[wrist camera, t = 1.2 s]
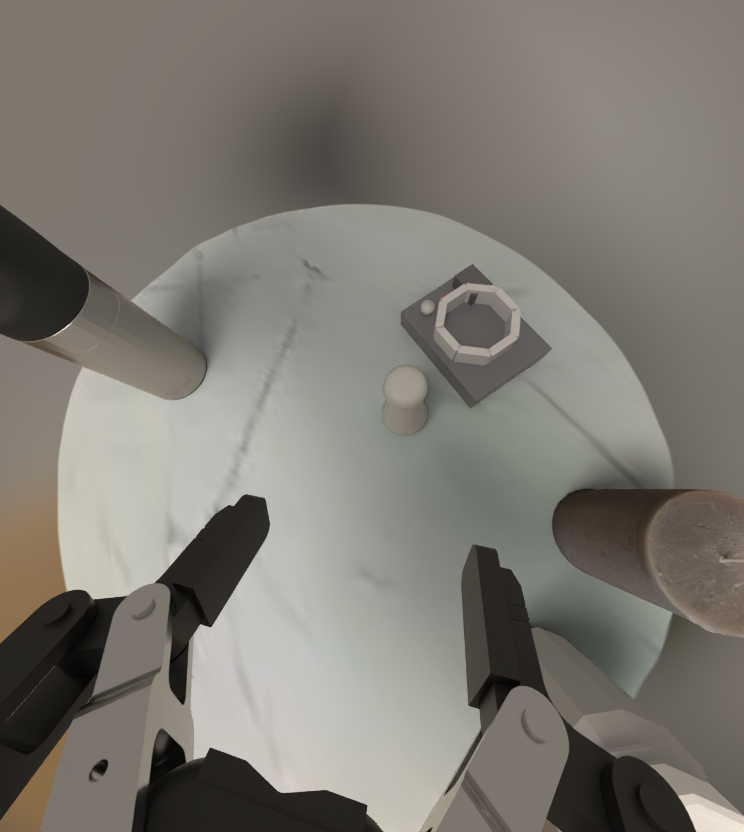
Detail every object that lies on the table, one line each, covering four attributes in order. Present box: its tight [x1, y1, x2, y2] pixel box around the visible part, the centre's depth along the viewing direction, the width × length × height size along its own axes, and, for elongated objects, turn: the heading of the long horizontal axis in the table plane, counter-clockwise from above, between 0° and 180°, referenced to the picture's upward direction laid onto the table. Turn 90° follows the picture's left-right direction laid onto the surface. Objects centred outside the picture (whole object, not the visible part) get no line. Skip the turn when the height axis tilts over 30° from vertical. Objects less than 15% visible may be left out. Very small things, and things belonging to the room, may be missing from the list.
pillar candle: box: [552, 489, 744, 638], centre depth 26 cm, size 10×10×15 cm
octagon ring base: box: [401, 264, 552, 408], centre depth 38 cm, size 16×12×6 cm
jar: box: [531, 627, 744, 832], centre depth 22 cm, size 10×10×18 cm
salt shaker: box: [382, 365, 428, 436], centre depth 33 cm, size 6×6×13 cm
